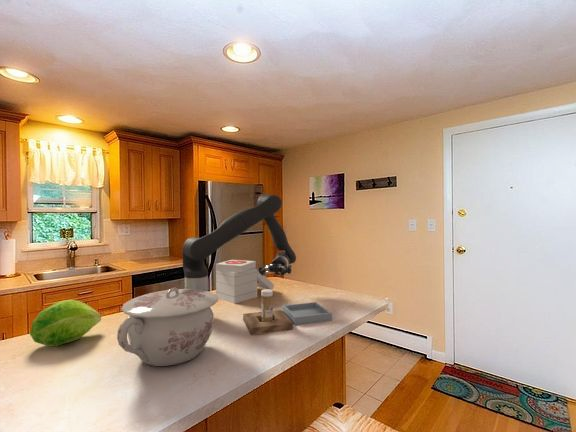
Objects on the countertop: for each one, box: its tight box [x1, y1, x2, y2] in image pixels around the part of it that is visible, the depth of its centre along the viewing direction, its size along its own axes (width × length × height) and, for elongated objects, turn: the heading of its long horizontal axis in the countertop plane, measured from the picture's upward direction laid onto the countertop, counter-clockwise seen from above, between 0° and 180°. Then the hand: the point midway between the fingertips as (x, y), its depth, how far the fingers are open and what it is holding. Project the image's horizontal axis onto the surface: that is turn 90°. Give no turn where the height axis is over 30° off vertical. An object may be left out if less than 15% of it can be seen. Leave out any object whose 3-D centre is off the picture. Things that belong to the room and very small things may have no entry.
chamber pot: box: [116, 286, 219, 367], centre depth 91 cm, size 28×28×21 cm
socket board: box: [242, 309, 294, 336], centre depth 116 cm, size 16×16×2 cm
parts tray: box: [281, 301, 333, 326], centre depth 126 cm, size 16×16×3 cm
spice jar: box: [260, 288, 274, 322], centre depth 116 cm, size 5×5×14 cm
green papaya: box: [29, 299, 102, 347], centre depth 102 cm, size 15×20×14 cm
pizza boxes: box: [215, 259, 275, 305], centre depth 158 cm, size 19×30×18 cm, turn 139°
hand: (272, 273), depth 126 cm, fingers open, 8 cm apart
